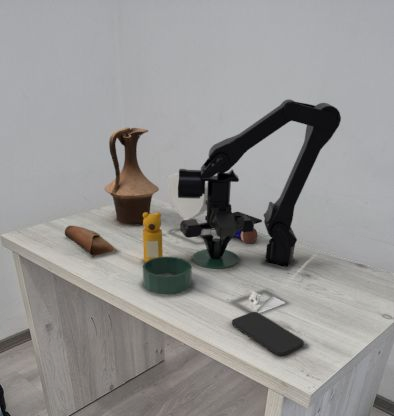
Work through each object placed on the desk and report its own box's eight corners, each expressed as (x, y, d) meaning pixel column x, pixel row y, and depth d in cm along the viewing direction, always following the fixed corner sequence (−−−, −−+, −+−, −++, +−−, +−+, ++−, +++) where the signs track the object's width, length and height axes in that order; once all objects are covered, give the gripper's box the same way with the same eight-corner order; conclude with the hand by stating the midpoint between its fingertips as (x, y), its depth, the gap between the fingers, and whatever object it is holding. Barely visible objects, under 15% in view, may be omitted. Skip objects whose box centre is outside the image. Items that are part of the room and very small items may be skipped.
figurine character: (214, 237, 144) (245, 247, 133) (213, 213, 140) (246, 221, 129) (230, 233, 147) (262, 242, 136) (230, 209, 143) (263, 217, 133)
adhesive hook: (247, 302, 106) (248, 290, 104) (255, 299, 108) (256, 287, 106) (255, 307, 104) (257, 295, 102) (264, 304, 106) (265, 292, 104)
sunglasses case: (118, 249, 129) (105, 232, 124) (100, 266, 128) (86, 249, 123) (90, 231, 141) (77, 214, 136) (73, 246, 140) (60, 230, 135)
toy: (144, 257, 126) (142, 209, 119) (162, 257, 126) (161, 209, 119) (143, 265, 122) (141, 215, 114) (162, 265, 122) (161, 216, 114)
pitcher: (135, 233, 142) (130, 134, 126) (95, 222, 149) (85, 127, 133) (169, 218, 154) (168, 126, 138) (130, 208, 161) (124, 120, 145)
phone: (280, 354, 88) (229, 320, 97) (279, 357, 88) (229, 323, 98) (306, 342, 91) (255, 310, 101) (305, 345, 92) (254, 313, 101)
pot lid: (246, 258, 127) (248, 237, 124) (225, 275, 118) (226, 252, 115) (207, 249, 132) (207, 228, 129) (183, 263, 123) (183, 242, 120)
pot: (199, 281, 115) (200, 263, 112) (174, 300, 106) (174, 280, 104) (161, 270, 119) (161, 253, 117) (134, 287, 111) (133, 268, 108)
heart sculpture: (212, 241, 137) (215, 179, 127) (201, 245, 134) (202, 182, 124) (177, 227, 146) (177, 168, 136) (165, 231, 143) (164, 171, 133)
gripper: (192, 211, 107) (191, 272, 116) (265, 205, 112) (259, 264, 121) (179, 197, 116) (179, 256, 124) (247, 192, 121) (243, 249, 129)
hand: (215, 256), depth 124 cm, fingers closed on pot lid, 2 cm apart
